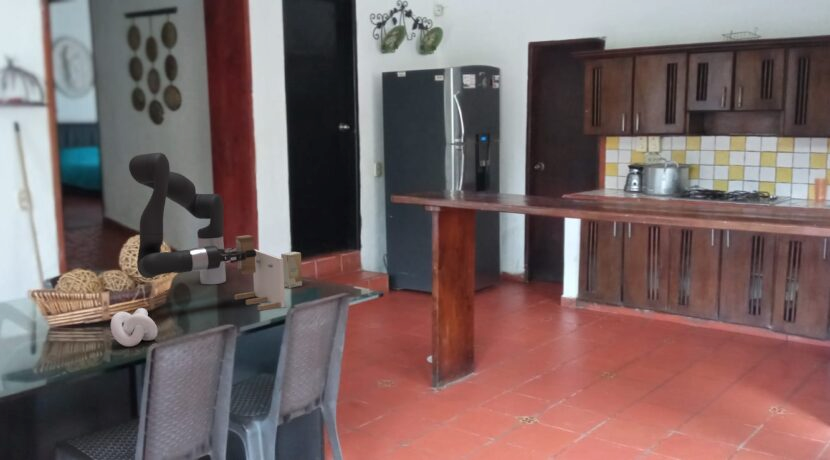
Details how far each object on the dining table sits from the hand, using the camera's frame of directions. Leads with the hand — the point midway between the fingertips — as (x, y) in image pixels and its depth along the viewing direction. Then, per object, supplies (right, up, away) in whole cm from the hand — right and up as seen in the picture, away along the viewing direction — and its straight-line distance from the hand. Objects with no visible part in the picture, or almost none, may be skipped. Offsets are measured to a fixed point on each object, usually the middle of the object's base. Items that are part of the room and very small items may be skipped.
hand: (252, 251), depth 258 cm
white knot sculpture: (-24, -24, -43) cm, 54 cm away
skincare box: (+10, -13, +21) cm, 27 cm away
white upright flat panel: (+3, -17, -2) cm, 17 cm away
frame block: (-2, -7, 0) cm, 7 cm away
